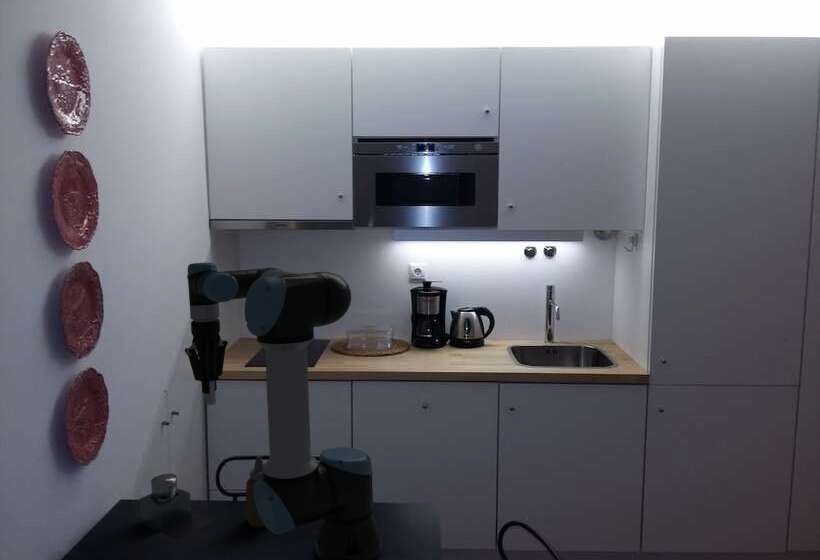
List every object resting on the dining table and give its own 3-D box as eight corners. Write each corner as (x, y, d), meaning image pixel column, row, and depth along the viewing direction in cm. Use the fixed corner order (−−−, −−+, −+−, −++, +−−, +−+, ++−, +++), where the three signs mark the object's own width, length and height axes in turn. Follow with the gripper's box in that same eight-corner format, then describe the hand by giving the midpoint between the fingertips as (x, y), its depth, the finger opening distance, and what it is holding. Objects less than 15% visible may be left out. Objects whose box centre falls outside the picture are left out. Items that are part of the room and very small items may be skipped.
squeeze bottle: (270, 535, 146) (266, 463, 144) (239, 532, 147) (235, 461, 145) (283, 518, 153) (280, 450, 152) (254, 516, 155) (251, 449, 153)
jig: (213, 525, 151) (211, 497, 150) (179, 543, 143) (177, 514, 142) (173, 510, 160) (171, 484, 159) (139, 527, 151) (136, 499, 150)
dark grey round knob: (184, 515, 154) (181, 476, 153) (165, 526, 149) (161, 485, 148) (168, 510, 157) (165, 472, 156) (149, 520, 152) (145, 481, 151)
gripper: (215, 315, 170) (219, 395, 173) (175, 322, 159) (181, 408, 162) (233, 316, 167) (238, 399, 169) (194, 324, 156) (200, 412, 158)
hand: (210, 403), depth 165 cm, fingers closed
